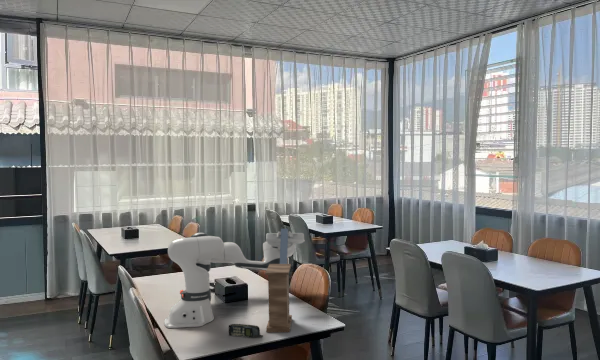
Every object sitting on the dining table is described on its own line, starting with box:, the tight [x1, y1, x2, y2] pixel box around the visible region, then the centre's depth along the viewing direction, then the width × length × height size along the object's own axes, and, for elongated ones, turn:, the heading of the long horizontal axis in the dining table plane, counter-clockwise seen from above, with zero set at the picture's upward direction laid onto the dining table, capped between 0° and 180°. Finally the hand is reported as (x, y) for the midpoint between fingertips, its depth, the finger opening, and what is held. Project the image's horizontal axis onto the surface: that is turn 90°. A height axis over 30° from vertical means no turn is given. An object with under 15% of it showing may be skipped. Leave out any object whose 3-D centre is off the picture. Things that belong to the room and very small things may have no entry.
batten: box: [280, 228, 289, 264], centre depth 231 cm, size 26×4×3 cm
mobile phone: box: [228, 323, 264, 339], centre depth 192 cm, size 5×3×15 cm
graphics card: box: [209, 280, 215, 294], centre depth 260 cm, size 10×3×25 cm
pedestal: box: [264, 263, 293, 333], centre depth 203 cm, size 16×10×26 cm, turn 177°
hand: (284, 232), depth 235 cm, fingers closed on batten, 3 cm apart
